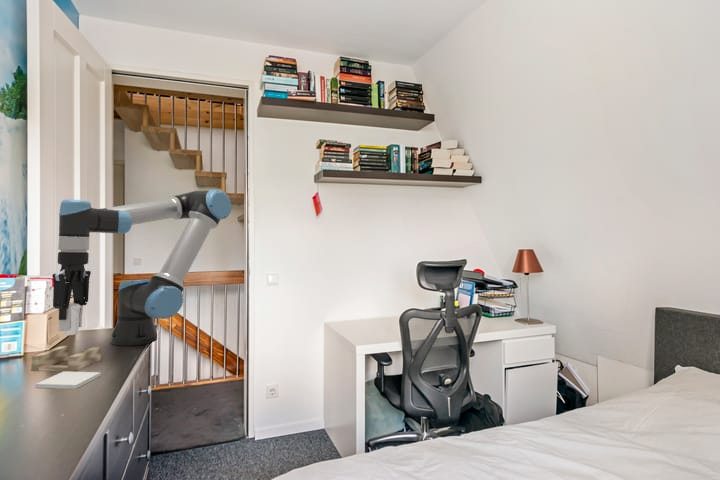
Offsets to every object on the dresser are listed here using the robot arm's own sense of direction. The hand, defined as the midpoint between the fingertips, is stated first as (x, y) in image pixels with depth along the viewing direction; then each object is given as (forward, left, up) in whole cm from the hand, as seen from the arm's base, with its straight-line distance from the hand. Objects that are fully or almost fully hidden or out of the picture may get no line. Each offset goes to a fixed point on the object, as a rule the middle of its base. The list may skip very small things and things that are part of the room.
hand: (70, 328), depth 119 cm
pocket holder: (0, 0, -11) cm, 11 cm away
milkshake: (0, 0, -2) cm, 2 cm away
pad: (+14, +10, -11) cm, 20 cm away
